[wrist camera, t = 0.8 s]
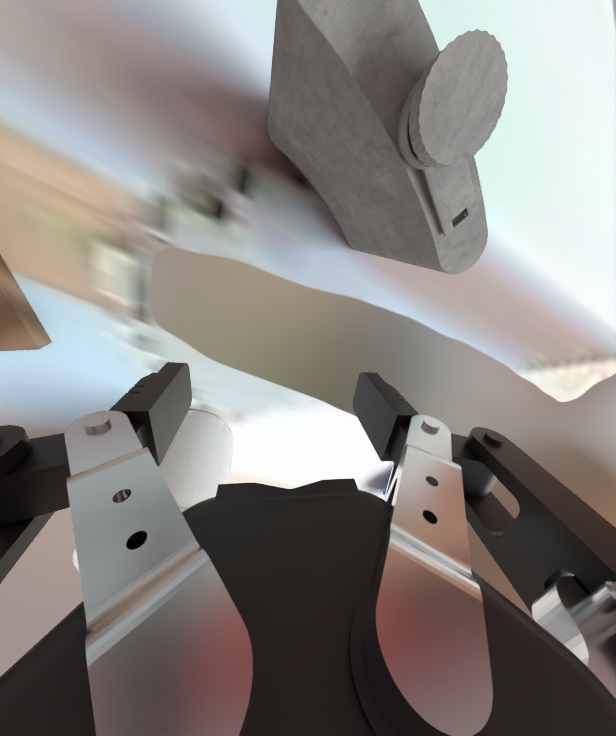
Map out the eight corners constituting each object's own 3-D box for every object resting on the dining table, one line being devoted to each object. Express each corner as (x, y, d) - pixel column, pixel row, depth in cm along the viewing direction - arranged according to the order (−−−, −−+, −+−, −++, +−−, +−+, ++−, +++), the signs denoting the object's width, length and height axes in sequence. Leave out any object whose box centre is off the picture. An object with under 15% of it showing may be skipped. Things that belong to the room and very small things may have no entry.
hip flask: (260, 126, 22) (264, -173, 6) (289, 85, 21) (402, -432, 5) (356, 256, 30) (481, 294, 13) (381, 230, 29) (550, 237, 12)
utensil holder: (126, 449, 39) (48, 583, 25) (168, 390, 35) (103, 509, 20) (208, 474, 46) (184, 591, 31) (251, 427, 42) (248, 536, 27)
